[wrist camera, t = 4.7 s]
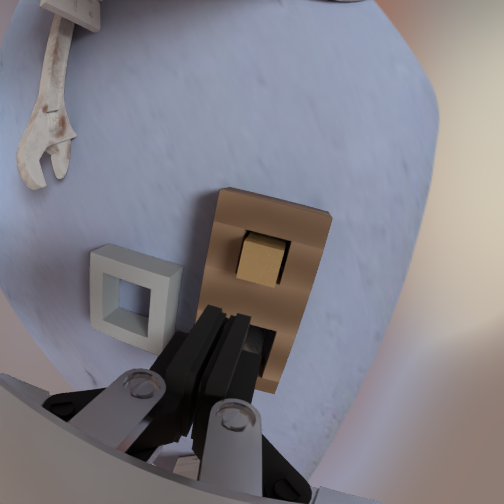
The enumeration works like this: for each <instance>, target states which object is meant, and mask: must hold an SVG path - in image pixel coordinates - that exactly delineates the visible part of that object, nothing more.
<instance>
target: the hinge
mask: <svg viewBox="0 0 504 504" xmlns="http://www.w3.org/2000/svg"><path fill="white" fill-rule="evenodd" d="M102 1H103V0H41V1H40V7H41V8H44V9H46V10H48V11H50V12H53V13H55V14H57V15H59V16H61V17H64V18H66V19H68V20H70V21H72V22H74V23H76V24H78V25H80V26H82V27H84V28H86V29H88V30H90V31H92V32H94V33H96V32H98V31H100V2H102Z"/></svg>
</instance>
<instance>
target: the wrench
mask: <svg viewBox="0 0 504 504" xmlns="http://www.w3.org/2000/svg"><path fill="white" fill-rule="evenodd" d="M74 25H75V23H74V22H72V21H70V20H68V19H66V18H64V17H61V16H59V15H57V14H54V17H53V21H52V25H51V29H50V33H49V37H48V42H47V46H46V51H45V56H44V62H43V68H42V74H41V80H40V88H39V96H38V98H37V101H36V103H35V106H34V109H33V112H32V114H31V117H30V120H29V122H28V124H27V127H26V129H25V131H24V134H23V136H22V138H21V140H20V143H19V145H18V148H17V155H16V158H17V169H18V171H19V173H20V176H21V178H22V180H23V182H24V183H25V184H26V185H27V187H29V188H30V189H32V190H37V189H40V188H43V187H46V183H45V179H44V176H43V173H42V169H41V166H40V162H39V159H40V158H41V156H42V154H43V153H44V151H45V152H47V153H49V154H50V155H51V161H52V165H53V169H54V172H55V175H56V177H57V178H58V179H61V178H63V177H65V176H66V173H67V169H68V165H69V160H70V148H71V139H72V138H74V137H77V135H76V133H75V132H74V131H73V128H72V126H71V125H70V123H69V120H68V116H67V113H66V110H65V103H64V96H63V95H64V84H65V75H66V68H67V61H68V55H69V50H70V45H71V40H72V35H73V30H74Z"/></svg>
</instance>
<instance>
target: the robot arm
mask: <svg viewBox="0 0 504 504" xmlns="http://www.w3.org/2000/svg"><path fill="white" fill-rule="evenodd" d="M336 1H361V0H336ZM226 316H227V314H226V313H223V312H222V308H219V307H216V306H212V305H209V304H208V305H207V306H206V308H205V309H204V311H203V313H202V314H201V316H200V317H199V319H198V320H197V322H196V323H195V325H194V327H193V328H192V330H191V331H190V333H185V332H182V331H179V330H178V331H177V332H176V333H175V334H174V336H173V337H172V338H171V340H170V341H169V343H168V344H167V345H166V347H165V348H164V350H163V351H162V352H161V354H160V355H159V357H158V358H157V359H156V361H155V362H154V364H153V365H152V367H151V368H150V369H149V370H148V369H142V368H138V369H131V370H128V371H126V372H125V373H123V374H122V375H121V376H119V377H118V378H117V379H116V380H115V381H114V382H113V383H112V384H110V385H109V386H108V387H107V388H101V389H93V390H86V391H78V392H69V393H60V394H56V395H52V396H51V395H49V392H48V391H46V390H43V389H41V388H38V387H36V386H33V385H30V384H28V383H26V382H23V381H21V380H19V379H16V378H14V377H12V376H10V375H7V374H4V373H1V374H0V504H382V503H381V502H378V501H375V500H372V499H367V498H363V497H358V496H354V495H350V494H346V493H342V492H338V491H335V490H331V489H328V488H325V487H321V486H320V488H315V487H312V486H310V485H309V484H308V482H307V481H306V480H305V479H304V478H303V477H302V476H301V475H300V474H299V473H298V472H297V471H296V470H295V469H294V467H293V466H292V465H291V464H290V463H289V462H288V461H287V460H286V459H285V458H284V457H283V456H282V455H281V454H280V453H279V452H278V451H277V450H276V449H275V447H274V446H273V445H272V444H271V443H270V442H269V441H268V440H267V439H266V438H265V436H264V435H263V434H262V428H261V416H260V413H259V412H258V410H257V409H256V408H255V407H254V406H253V405H251V402H252V398H253V393H254V389H255V385H256V381H257V376H258V372H259V368H260V363H261V359H262V355H260V354H257V353H253V352H249V351H245V350H243V348H244V344H245V340H246V337H247V333H248V329H249V325H250V321H251V316H248V315H244V314H240V313H237V315H236V316H233V315H230V318H229V320H228V322H227V324H226V326H225V328H224V325H225V321H226ZM192 424H193V427H192V434H191V439H193V445H192V450H193V451H194V453H195V454H196V456H197V457H198V459H199V460H200V463H199V469H198V475H197V481H196V480H193V479H190V478H187V477H184V476H181V475H178V474H175V473H172V472H170V471H167V470H164V469H162V468H159V467H156V466H154V465H151V464H152V463H153V462H154V460H155V459H156V458H157V456H158V455H159V454H160V452H161V451H162V449H163V445H166V444H169V443H173V442H177V443H178V442H179V439H180V437H181V435H182V436H185V437H187V435H188V433H189V431H190V428H191V426H192Z"/></svg>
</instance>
